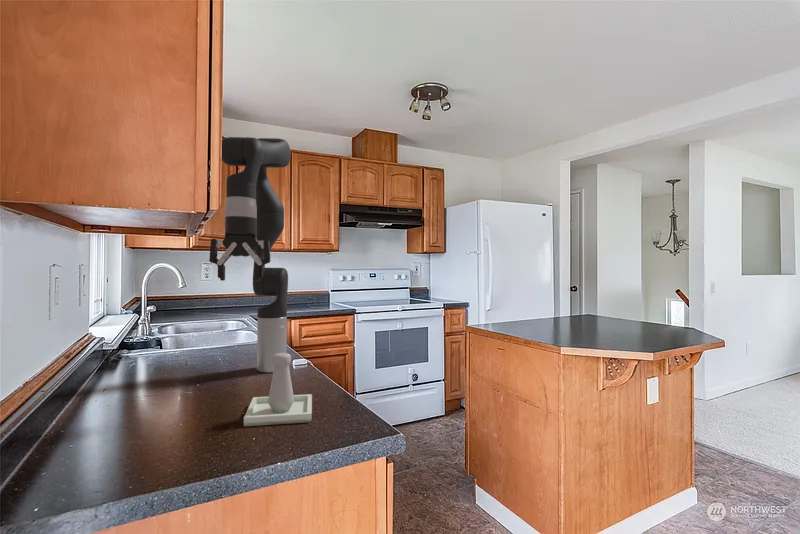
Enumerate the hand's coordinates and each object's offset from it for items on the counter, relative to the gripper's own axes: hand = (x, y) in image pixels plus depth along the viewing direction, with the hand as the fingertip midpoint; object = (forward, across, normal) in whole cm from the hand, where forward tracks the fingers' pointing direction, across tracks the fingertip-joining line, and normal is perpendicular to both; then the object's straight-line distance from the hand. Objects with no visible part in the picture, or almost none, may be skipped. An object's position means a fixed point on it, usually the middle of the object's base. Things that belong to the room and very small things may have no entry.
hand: (240, 280), depth 105 cm
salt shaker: (+30, -11, +12) cm, 34 cm away
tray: (+30, -11, +12) cm, 34 cm away
